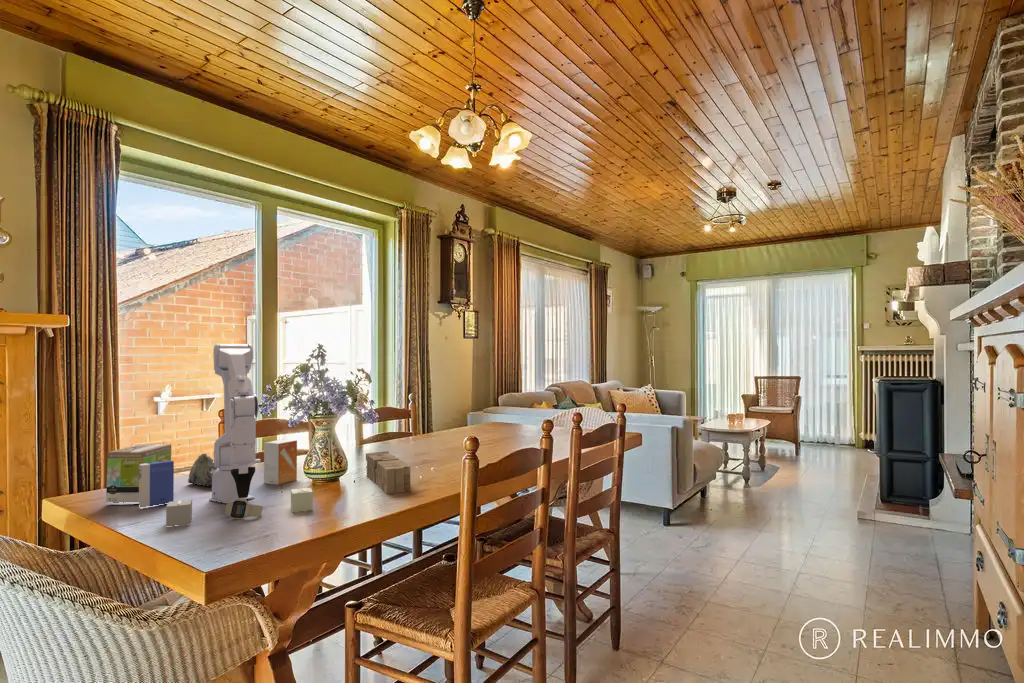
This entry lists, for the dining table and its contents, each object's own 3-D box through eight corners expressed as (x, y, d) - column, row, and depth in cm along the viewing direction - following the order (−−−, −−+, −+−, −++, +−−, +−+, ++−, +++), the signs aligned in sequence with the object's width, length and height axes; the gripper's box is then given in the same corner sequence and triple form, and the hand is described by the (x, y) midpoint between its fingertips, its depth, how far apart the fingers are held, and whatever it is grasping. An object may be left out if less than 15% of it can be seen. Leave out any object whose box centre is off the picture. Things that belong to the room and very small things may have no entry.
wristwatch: (219, 520, 142) (219, 499, 142) (233, 513, 148) (233, 493, 149) (255, 520, 142) (255, 500, 142) (267, 513, 148) (267, 493, 148)
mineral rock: (220, 489, 175) (220, 456, 175) (180, 492, 171) (181, 458, 172) (226, 480, 187) (227, 449, 187) (189, 483, 184) (189, 451, 184)
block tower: (411, 495, 170) (388, 473, 197) (412, 467, 170) (388, 449, 196) (385, 498, 167) (365, 476, 193) (385, 469, 167) (365, 450, 193)
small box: (278, 485, 180) (278, 443, 180) (263, 483, 182) (263, 442, 182) (297, 480, 187) (297, 439, 187) (282, 478, 189) (282, 438, 190)
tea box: (143, 505, 156) (144, 451, 157) (104, 506, 156) (105, 451, 156) (171, 492, 171) (172, 442, 172) (136, 493, 170) (136, 443, 171)
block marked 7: (290, 508, 152) (290, 488, 153) (310, 506, 155) (310, 486, 155) (292, 513, 148) (292, 492, 148) (312, 510, 150) (312, 490, 150)
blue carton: (169, 502, 160) (170, 458, 160) (173, 503, 158) (173, 460, 158) (137, 508, 154) (137, 463, 154) (140, 509, 152) (141, 464, 152)
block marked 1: (168, 522, 140) (168, 501, 140) (191, 519, 142) (192, 498, 143) (166, 527, 136) (166, 505, 136) (190, 525, 138) (190, 503, 138)
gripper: (261, 446, 141) (261, 501, 140) (259, 438, 154) (259, 489, 154) (229, 448, 138) (229, 505, 137) (230, 440, 151) (230, 492, 151)
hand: (243, 497), depth 145 cm, fingers closed
